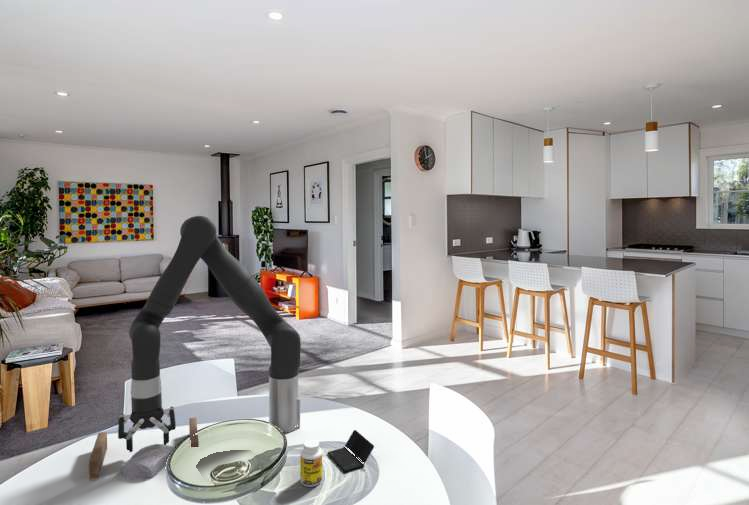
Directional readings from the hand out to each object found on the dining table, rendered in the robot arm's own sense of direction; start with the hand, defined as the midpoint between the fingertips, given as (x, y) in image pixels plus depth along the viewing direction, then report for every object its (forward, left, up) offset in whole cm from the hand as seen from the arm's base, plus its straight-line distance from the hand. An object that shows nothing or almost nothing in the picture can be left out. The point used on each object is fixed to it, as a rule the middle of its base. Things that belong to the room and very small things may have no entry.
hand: (148, 447), depth 125 cm
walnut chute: (0, -1, -2) cm, 2 cm away
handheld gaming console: (-52, +23, -3) cm, 57 cm away
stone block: (0, +5, -3) cm, 6 cm away
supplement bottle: (-39, +29, -3) cm, 49 cm away
